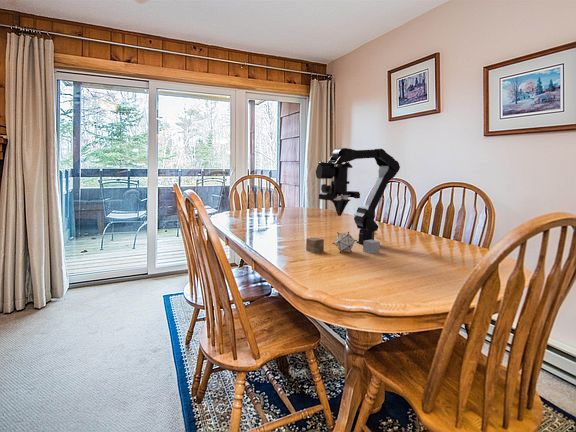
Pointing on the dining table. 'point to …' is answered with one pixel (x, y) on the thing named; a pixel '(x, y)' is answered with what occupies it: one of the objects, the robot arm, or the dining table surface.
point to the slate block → (371, 246)
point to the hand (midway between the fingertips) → (339, 215)
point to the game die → (344, 242)
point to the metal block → (314, 244)
